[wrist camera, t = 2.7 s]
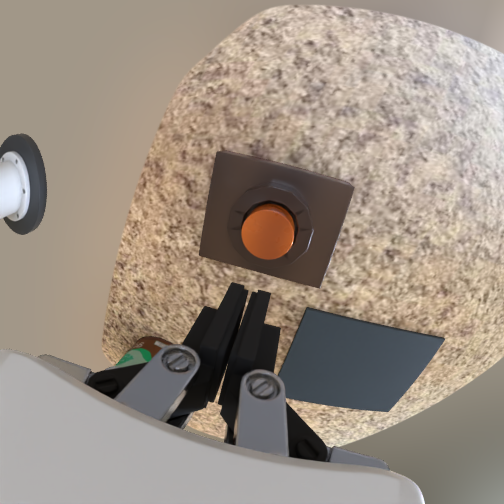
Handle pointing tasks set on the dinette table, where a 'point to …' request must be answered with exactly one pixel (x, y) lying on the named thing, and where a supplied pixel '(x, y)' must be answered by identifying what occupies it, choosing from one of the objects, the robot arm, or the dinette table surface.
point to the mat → (353, 362)
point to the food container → (142, 351)
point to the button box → (282, 194)
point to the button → (268, 231)
